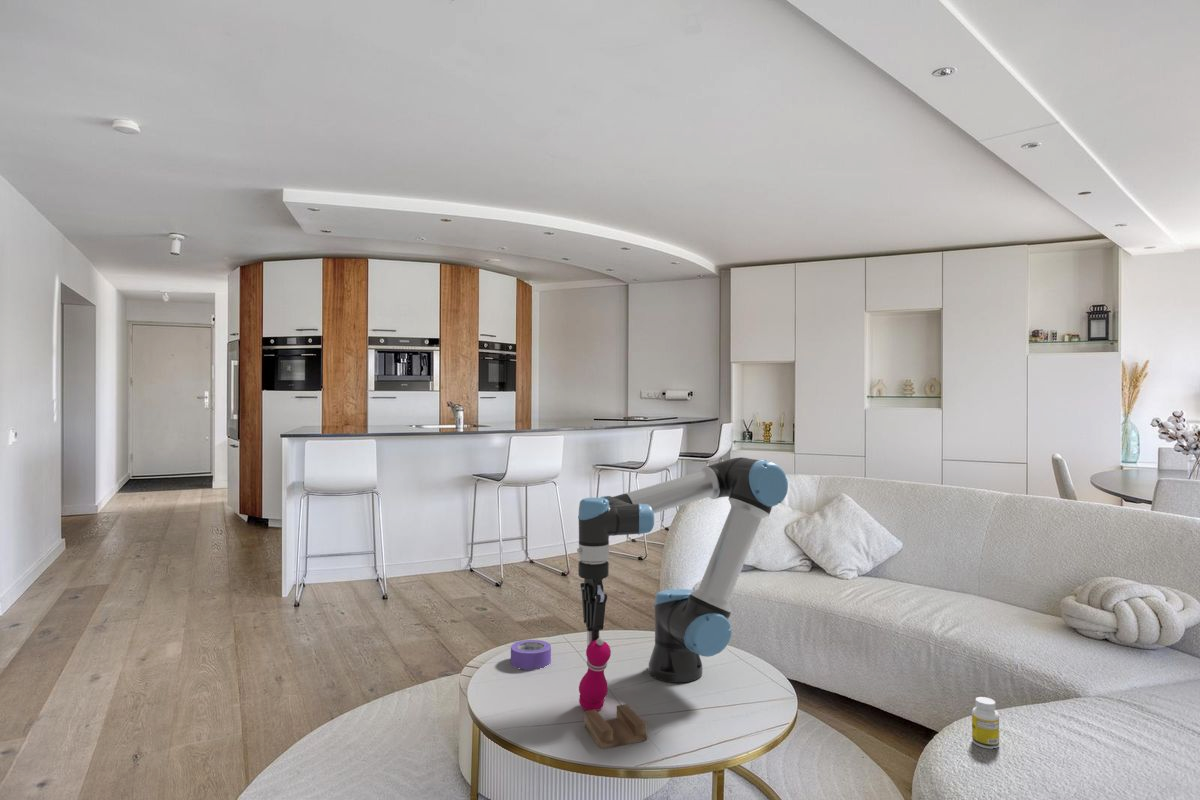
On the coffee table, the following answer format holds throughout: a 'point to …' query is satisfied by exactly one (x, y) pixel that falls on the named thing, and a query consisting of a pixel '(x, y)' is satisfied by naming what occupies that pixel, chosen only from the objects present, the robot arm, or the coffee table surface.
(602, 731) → the cradle
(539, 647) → the tape roll
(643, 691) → the coffee table surface
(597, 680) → the pepper mill
